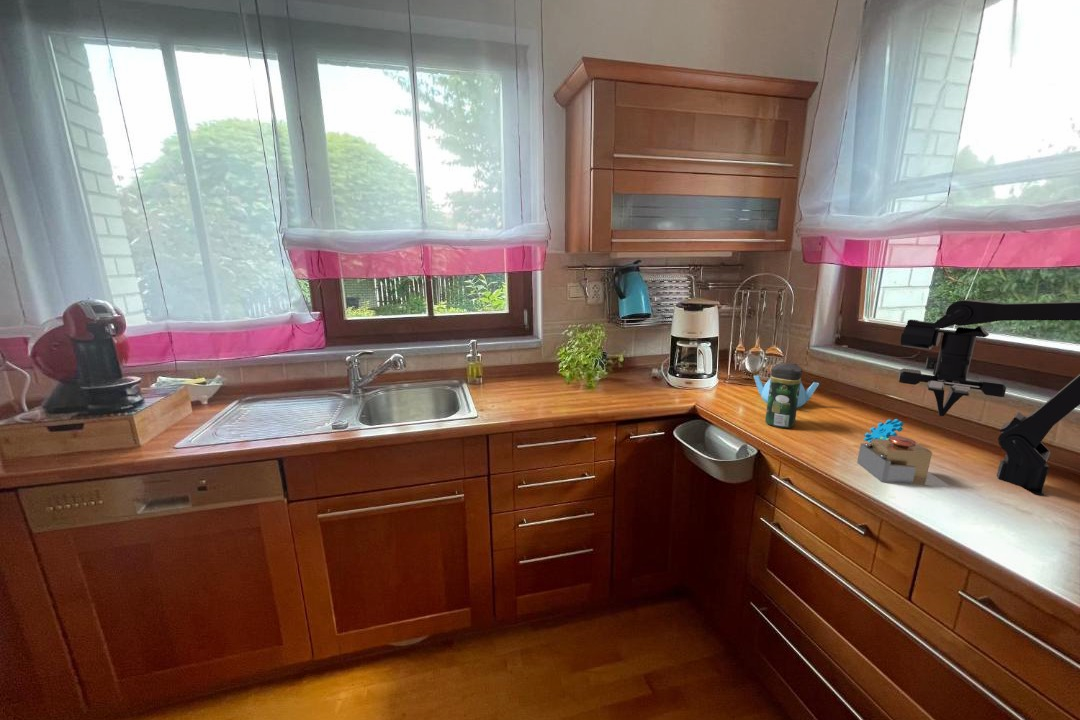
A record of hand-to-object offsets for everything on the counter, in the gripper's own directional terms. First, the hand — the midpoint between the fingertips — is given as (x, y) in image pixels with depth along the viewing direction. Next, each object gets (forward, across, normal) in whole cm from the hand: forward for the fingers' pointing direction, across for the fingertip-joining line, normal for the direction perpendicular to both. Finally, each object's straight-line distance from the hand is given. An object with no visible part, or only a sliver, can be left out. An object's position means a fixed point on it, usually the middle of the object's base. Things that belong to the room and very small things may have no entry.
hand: (941, 415), depth 110 cm
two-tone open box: (+12, +6, +16) cm, 21 cm away
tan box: (+11, +7, +17) cm, 21 cm away
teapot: (+12, +38, -28) cm, 49 cm away
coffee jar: (+12, +35, -5) cm, 37 cm away
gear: (+12, +10, -4) cm, 16 cm away
